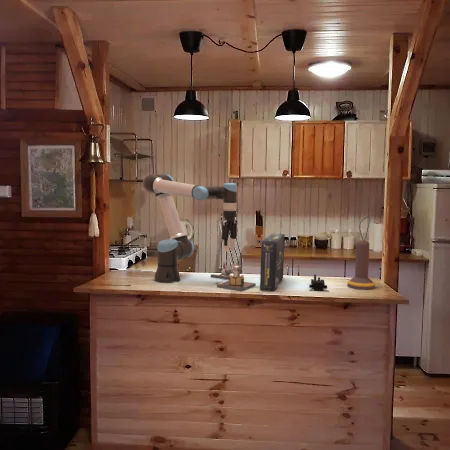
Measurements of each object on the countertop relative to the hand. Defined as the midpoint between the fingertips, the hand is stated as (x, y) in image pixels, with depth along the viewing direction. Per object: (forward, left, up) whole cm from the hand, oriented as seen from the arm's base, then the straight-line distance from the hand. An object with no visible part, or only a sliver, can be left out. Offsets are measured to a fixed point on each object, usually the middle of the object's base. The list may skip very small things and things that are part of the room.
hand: (229, 250), depth 275 cm
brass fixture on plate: (+8, -6, -19) cm, 22 cm away
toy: (+45, +24, -19) cm, 54 cm away
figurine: (-11, +15, -19) cm, 27 cm away
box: (+22, +11, -19) cm, 32 cm away
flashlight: (+66, +35, -19) cm, 78 cm away
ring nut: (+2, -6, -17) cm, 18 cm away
